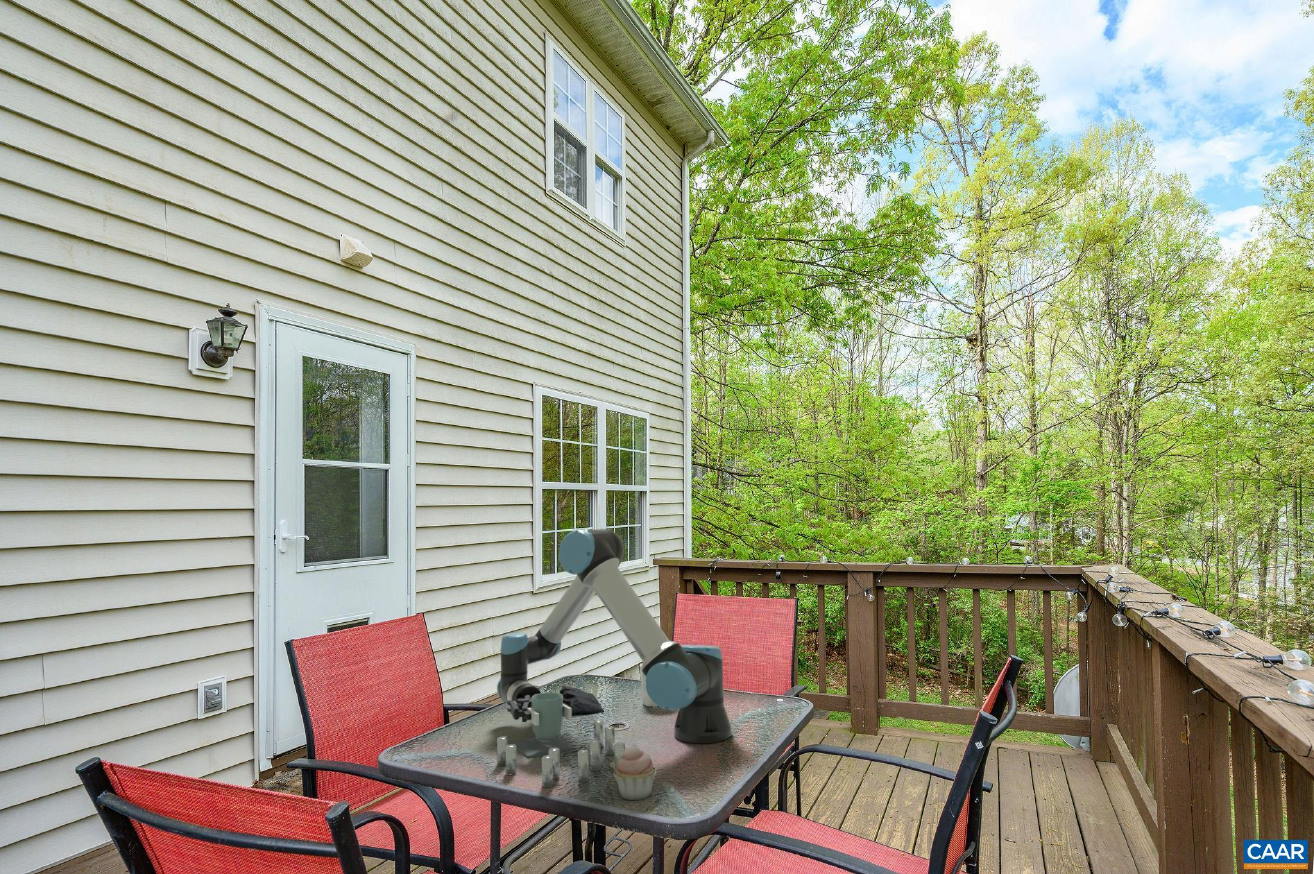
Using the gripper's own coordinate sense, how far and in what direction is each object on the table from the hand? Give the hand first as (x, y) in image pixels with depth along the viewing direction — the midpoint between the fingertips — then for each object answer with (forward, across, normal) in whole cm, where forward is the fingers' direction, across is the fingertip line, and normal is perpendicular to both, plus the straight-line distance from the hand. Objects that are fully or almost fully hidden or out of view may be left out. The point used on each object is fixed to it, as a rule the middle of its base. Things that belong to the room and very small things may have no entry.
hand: (554, 716), depth 167 cm
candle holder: (-30, -45, -10) cm, 55 cm away
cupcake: (+31, -6, -10) cm, 33 cm away
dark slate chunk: (-42, -23, -10) cm, 49 cm away
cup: (-5, 0, -6) cm, 8 cm away
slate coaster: (-9, 0, -10) cm, 13 cm away
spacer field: (+8, -2, -9) cm, 12 cm away
